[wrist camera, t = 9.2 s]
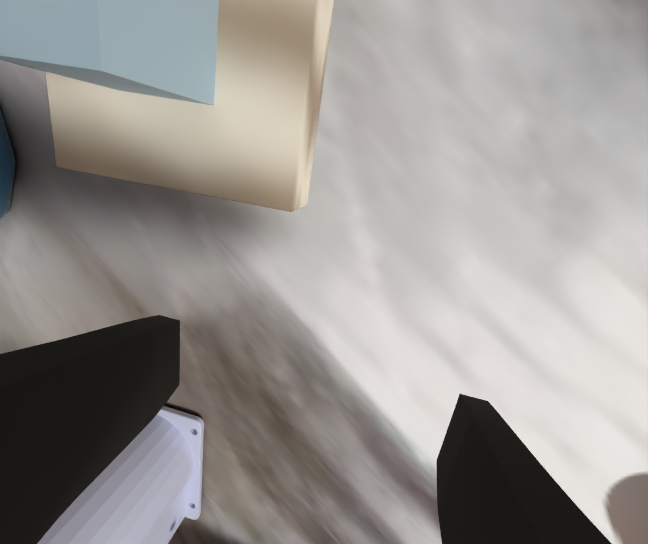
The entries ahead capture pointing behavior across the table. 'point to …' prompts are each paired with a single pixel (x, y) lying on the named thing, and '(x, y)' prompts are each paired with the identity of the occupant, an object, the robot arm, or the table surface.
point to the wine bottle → (5, 169)
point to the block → (118, 43)
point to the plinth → (213, 113)
